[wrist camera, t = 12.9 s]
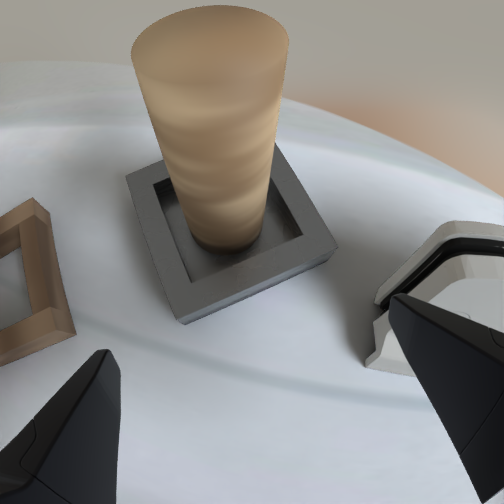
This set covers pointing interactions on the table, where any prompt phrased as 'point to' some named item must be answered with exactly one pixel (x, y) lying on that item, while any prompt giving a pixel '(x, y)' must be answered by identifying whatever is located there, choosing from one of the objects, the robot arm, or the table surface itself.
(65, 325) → the walnut collar block
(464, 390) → the robot arm
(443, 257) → the white plastic device casing
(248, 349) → the table surface
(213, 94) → the oak axle peg
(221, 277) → the metal cradle
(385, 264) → the table surface
